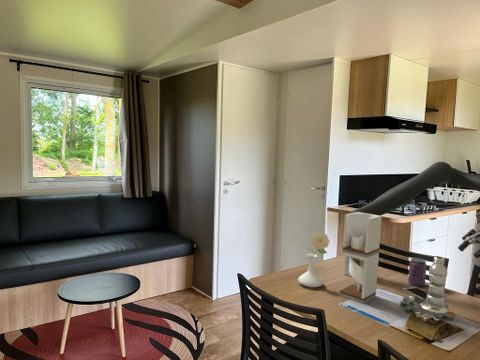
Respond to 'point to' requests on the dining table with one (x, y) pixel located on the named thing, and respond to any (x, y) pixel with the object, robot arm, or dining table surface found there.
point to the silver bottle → (436, 283)
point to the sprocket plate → (425, 308)
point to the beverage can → (417, 272)
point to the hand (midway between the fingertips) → (467, 253)
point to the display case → (362, 254)
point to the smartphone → (417, 292)
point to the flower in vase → (310, 276)
